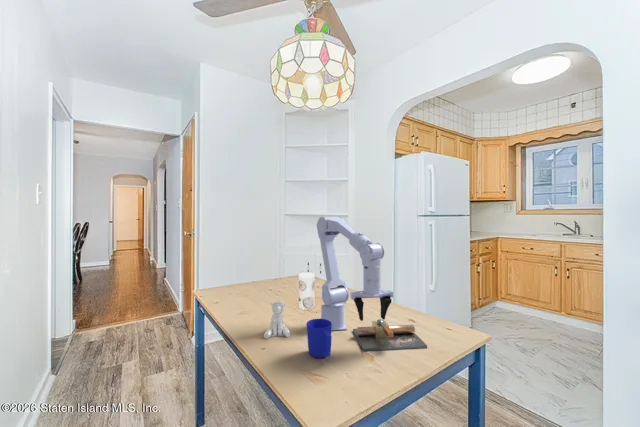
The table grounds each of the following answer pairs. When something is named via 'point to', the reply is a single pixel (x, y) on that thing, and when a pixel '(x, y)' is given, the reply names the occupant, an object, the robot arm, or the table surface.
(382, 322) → the valve lever
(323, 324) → the mug
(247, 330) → the table surface
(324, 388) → the table surface
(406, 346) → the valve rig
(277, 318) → the sitting furry creature
